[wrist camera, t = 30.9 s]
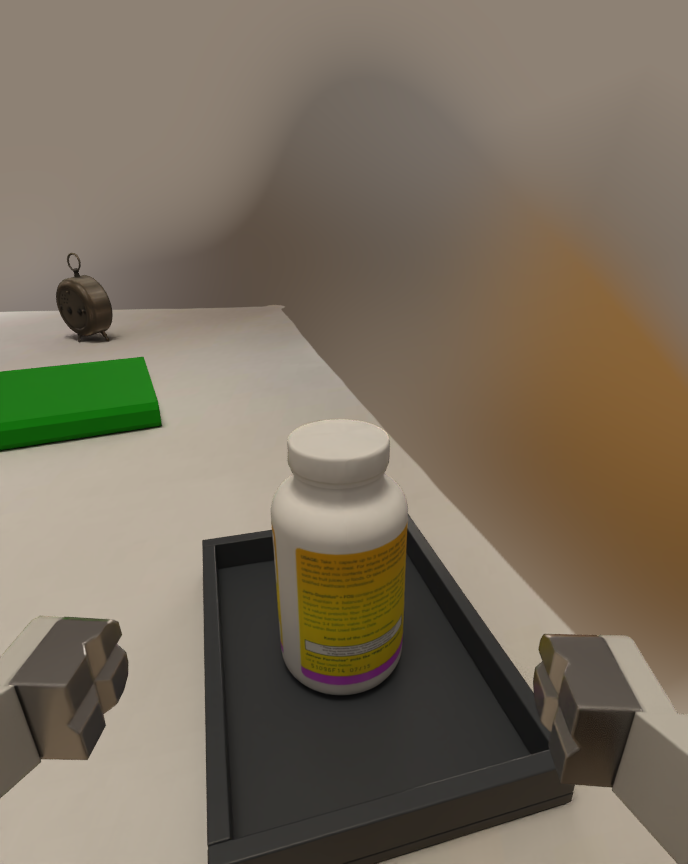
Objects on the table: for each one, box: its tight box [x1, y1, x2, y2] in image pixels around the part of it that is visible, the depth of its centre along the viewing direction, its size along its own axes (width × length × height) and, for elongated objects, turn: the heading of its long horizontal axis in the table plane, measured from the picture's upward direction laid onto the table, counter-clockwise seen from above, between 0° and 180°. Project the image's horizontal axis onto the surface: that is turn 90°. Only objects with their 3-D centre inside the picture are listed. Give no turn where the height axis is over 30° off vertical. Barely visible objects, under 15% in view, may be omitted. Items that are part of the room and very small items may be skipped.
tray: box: [202, 514, 575, 864], centre depth 28 cm, size 20×15×3 cm
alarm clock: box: [56, 253, 112, 342], centre depth 98 cm, size 11×5×16 cm, turn 61°
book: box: [0, 357, 162, 450], centre depth 63 cm, size 22×28×3 cm
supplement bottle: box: [271, 419, 408, 695], centre depth 26 cm, size 7×7×13 cm
